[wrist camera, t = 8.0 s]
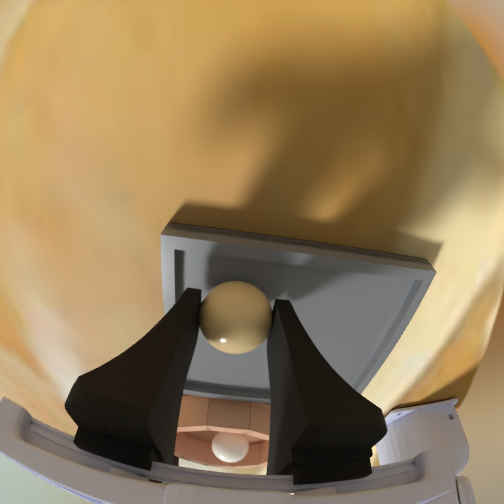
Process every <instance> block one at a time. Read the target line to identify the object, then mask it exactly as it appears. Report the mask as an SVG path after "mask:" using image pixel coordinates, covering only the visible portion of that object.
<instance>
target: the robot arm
mask: <svg viewBox="0 0 504 504" xmlns="http://www.w3.org/2000/svg"><path fill="white" fill-rule="evenodd" d="M201 295H202V289H196V288H189V287H188V288H186V289H185V291H184V292H183V294H182V295H181V296H180V298H179V299H178V300H177V302H176V303H175V304H174V305H173V306H172V308H171V309H170V310H169V311H168V312H167V313H166V315H165V316H164V317H163V318H162V319H161V320H160V321H159V322H158V323H157V324H156V325H155V326H154V327H153V328H152V329H151V330H150V331H149V332H148V333H147V334H146V335H145V336H143V337H142V338H141V339H140V340H139V341H137V342H136V343H135V344H134V345H132V346H131V347H130V348H128V349H127V350H126V351H124V352H123V353H121V354H120V355H118V356H117V357H115V358H114V359H112V360H110V361H109V362H107V363H105V364H104V365H102V366H100V367H98V368H96V369H94V370H92V371H90V372H87V373H85V374H83V375H81V376H79V377H78V378H77V380H76V382H75V383H74V385H73V387H72V388H71V391H70V393H69V395H68V397H67V400H66V402H65V409H66V411H67V413H68V414H69V415H70V417H71V418H72V419H73V420H74V422H75V423H76V424H77V425H78V430H77V432H76V435H75V437H74V436H72V435H70V434H67V433H65V432H62V431H60V430H58V429H56V428H53V427H51V426H49V425H47V424H45V423H43V422H41V421H39V420H37V419H35V418H33V417H32V416H31V414H30V413H29V412H28V411H27V410H26V409H25V408H23V407H22V406H20V405H19V404H17V403H15V402H13V401H11V400H10V399H8V398H6V397H3V398H2V400H1V402H0V453H2V454H3V455H5V456H6V457H7V458H9V459H10V460H11V461H13V462H14V463H16V464H18V465H19V466H21V467H22V468H24V469H26V470H27V471H29V472H31V473H33V474H35V475H36V476H38V477H40V478H42V479H43V480H45V481H47V482H49V483H51V484H53V485H55V486H57V487H59V488H61V489H63V490H65V491H67V492H70V493H72V494H74V495H76V496H78V497H81V498H83V499H86V500H88V501H90V502H93V503H96V504H476V502H475V497H474V493H473V489H472V486H471V482H470V479H469V478H468V477H464V476H463V475H462V476H460V477H458V476H456V475H458V474H459V473H460V472H461V471H462V470H463V469H464V468H465V466H466V464H467V462H468V458H469V444H468V441H467V438H466V435H465V433H464V430H463V427H462V424H461V421H460V419H459V416H458V414H457V411H456V409H455V406H454V405H455V404H456V403H457V402H458V399H457V398H455V399H450V400H446V401H441V402H436V403H431V404H425V405H420V406H413V407H407V408H400V409H395V410H392V411H391V412H390V413H389V414H388V415H387V416H386V417H385V418H384V415H383V413H382V410H381V409H380V408H379V407H377V406H376V405H375V404H373V403H372V402H370V401H369V400H367V399H366V398H365V397H363V396H362V395H361V394H360V393H358V392H357V391H356V390H355V389H354V388H352V387H351V386H350V385H349V384H348V383H347V382H346V381H345V380H344V379H343V378H342V377H341V376H340V375H339V374H338V373H337V372H336V371H335V370H334V369H333V368H332V367H331V365H330V364H329V363H328V362H327V361H326V359H325V358H324V357H323V356H322V354H321V353H320V352H319V350H318V349H317V347H316V346H315V344H314V343H313V341H312V340H311V338H310V337H309V335H308V333H307V332H306V330H305V328H304V327H303V325H302V323H301V321H300V320H299V318H298V316H297V314H296V312H295V310H294V308H293V306H292V304H291V302H290V301H289V300H283V299H275V302H274V306H273V310H272V312H273V323H272V328H271V331H270V333H269V335H268V337H267V361H268V372H269V383H270V397H271V406H270V434H269V450H268V463H267V474H266V475H249V474H234V473H223V472H213V471H205V470H198V469H191V468H185V467H179V466H174V465H173V463H174V453H175V444H176V436H177V428H178V421H179V414H180V408H181V402H182V396H183V390H184V386H185V382H186V378H187V375H188V371H189V368H190V364H191V361H192V358H193V354H194V351H195V347H196V344H197V339H198V334H199V328H200V325H199V309H200V305H201ZM375 444H376V449H377V453H378V458H379V463H380V466H375V467H371V463H370V457H372V455H373V453H372V447H373V446H374V445H375ZM147 478H148V479H152V480H157V481H161V482H166V483H171V484H169V485H167V484H161V483H154V482H149V480H148V479H147ZM289 493H295V494H294V495H290V494H289Z"/></svg>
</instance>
